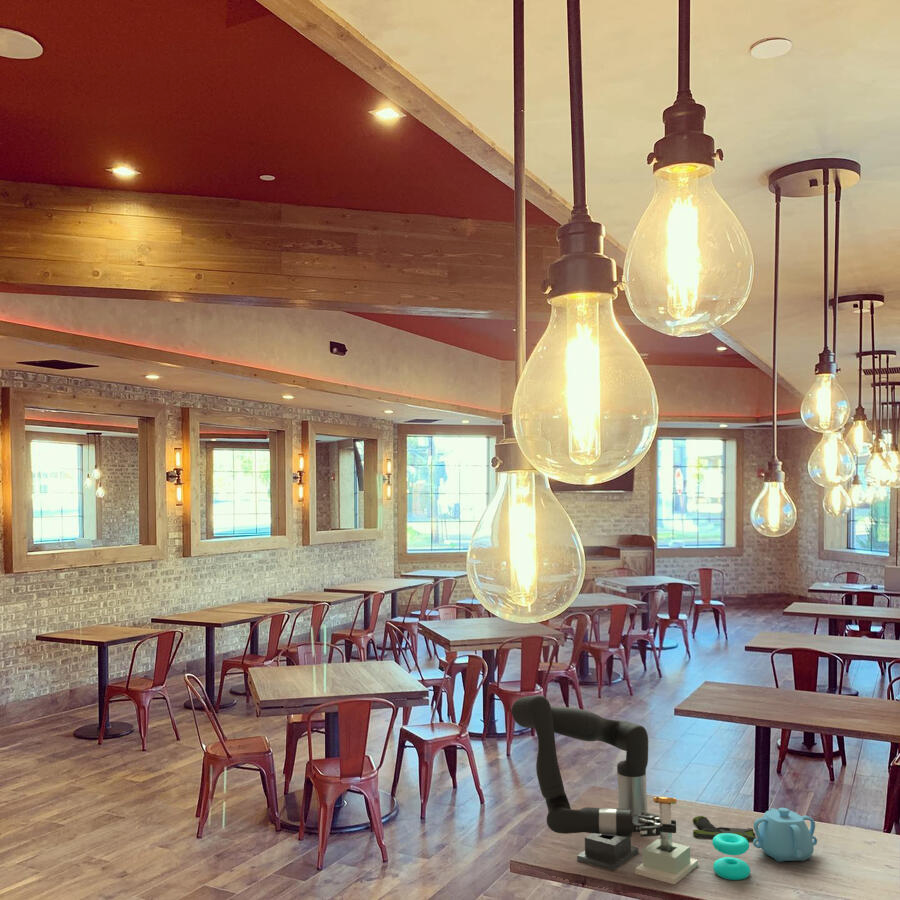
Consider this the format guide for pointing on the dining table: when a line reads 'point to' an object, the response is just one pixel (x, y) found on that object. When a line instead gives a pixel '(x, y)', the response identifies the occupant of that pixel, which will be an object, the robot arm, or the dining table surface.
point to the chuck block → (607, 851)
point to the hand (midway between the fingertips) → (675, 826)
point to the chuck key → (665, 821)
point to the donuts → (730, 865)
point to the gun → (718, 830)
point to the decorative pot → (785, 835)
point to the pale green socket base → (666, 863)
